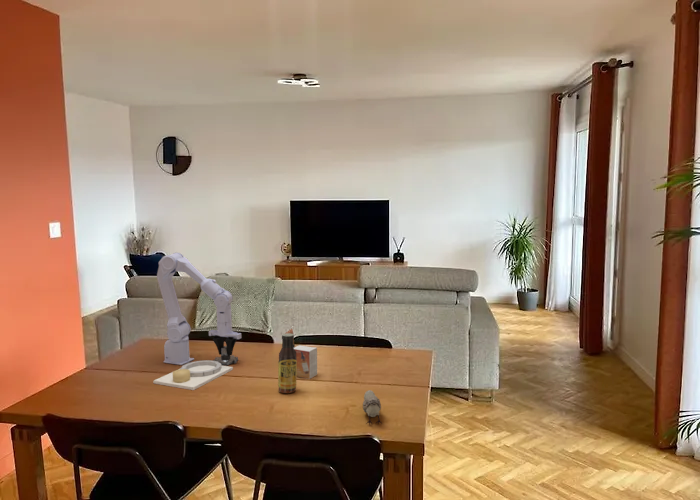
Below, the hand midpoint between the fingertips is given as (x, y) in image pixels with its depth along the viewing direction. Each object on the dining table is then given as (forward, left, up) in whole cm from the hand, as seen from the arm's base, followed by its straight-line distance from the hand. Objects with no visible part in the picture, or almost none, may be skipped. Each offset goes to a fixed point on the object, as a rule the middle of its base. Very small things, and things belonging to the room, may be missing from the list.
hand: (225, 354), depth 216 cm
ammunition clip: (+22, +12, -3) cm, 25 cm away
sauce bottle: (+39, -18, -3) cm, 43 cm away
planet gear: (0, 0, -3) cm, 3 cm away
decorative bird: (+73, -26, -4) cm, 77 cm away
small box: (+37, -2, -3) cm, 37 cm away
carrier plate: (-1, -18, -3) cm, 18 cm away
